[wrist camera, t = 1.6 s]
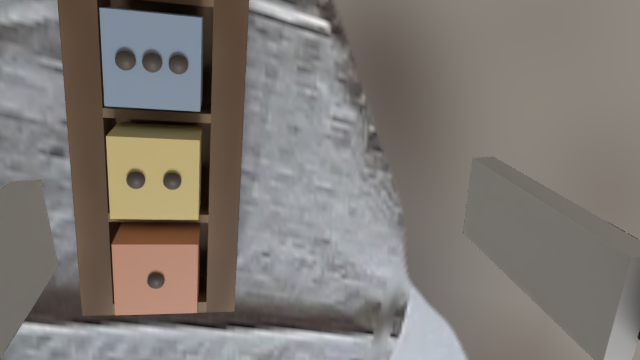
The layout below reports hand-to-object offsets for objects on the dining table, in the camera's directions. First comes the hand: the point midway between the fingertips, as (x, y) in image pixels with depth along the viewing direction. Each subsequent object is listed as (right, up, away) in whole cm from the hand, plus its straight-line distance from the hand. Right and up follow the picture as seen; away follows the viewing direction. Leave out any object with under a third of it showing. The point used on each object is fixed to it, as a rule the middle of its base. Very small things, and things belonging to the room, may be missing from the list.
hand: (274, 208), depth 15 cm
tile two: (-8, +2, +13) cm, 15 cm away
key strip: (-8, +3, +15) cm, 17 cm away
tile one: (-8, -4, +15) cm, 17 cm away
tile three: (-7, +8, +11) cm, 15 cm away
